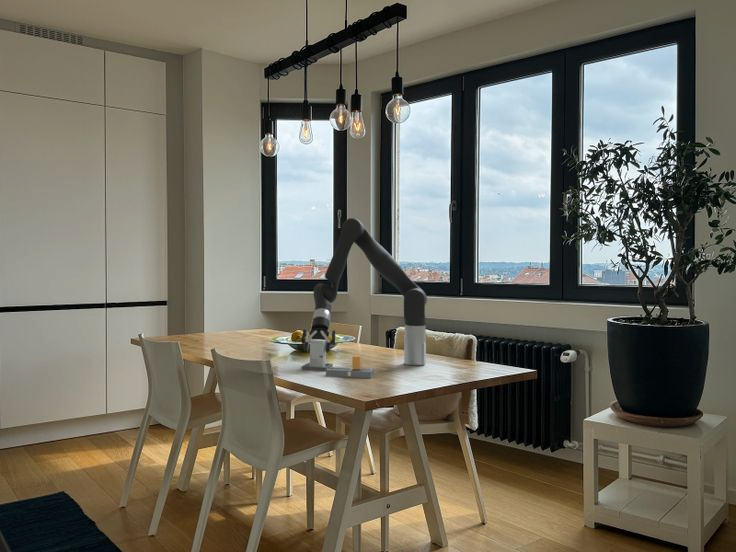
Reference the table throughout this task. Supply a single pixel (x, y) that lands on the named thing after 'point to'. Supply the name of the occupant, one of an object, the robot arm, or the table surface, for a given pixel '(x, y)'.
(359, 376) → the switch panel
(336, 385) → the table surface
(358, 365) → the block
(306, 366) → the frame
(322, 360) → the skincare box
